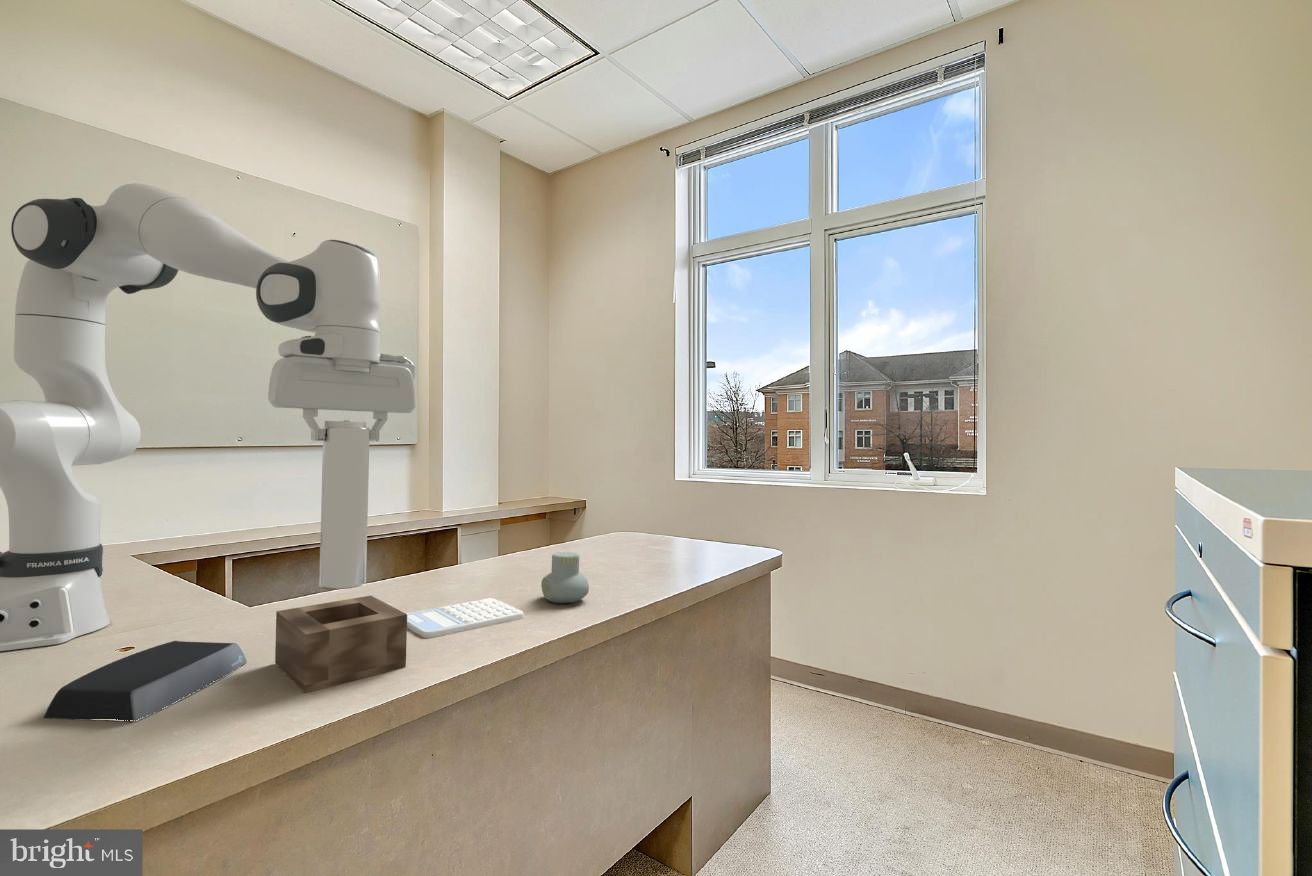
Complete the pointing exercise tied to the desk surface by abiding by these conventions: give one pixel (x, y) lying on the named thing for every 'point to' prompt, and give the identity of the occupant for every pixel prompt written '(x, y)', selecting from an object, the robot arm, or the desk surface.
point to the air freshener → (565, 579)
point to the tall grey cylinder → (344, 505)
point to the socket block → (340, 641)
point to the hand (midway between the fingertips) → (345, 441)
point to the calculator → (461, 617)
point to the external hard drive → (145, 681)
